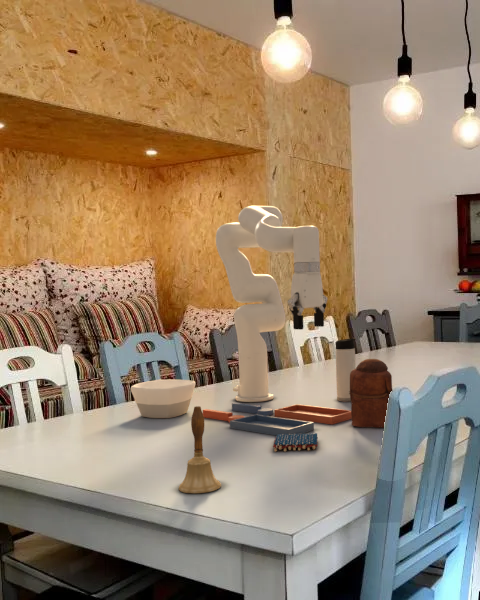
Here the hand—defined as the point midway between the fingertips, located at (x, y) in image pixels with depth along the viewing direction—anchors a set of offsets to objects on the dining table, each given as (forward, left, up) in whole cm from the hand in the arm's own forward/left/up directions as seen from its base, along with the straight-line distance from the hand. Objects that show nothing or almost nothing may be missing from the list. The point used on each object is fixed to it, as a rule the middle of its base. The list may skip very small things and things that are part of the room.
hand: (309, 327), depth 210 cm
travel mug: (-5, +25, -26) cm, 36 cm away
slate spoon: (-18, -6, -25) cm, 32 cm away
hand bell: (+27, -67, -26) cm, 77 cm away
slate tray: (+3, -20, -25) cm, 33 cm away
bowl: (-39, -22, -26) cm, 52 cm away
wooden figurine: (+24, -3, -26) cm, 35 cm away
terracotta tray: (+3, -2, -25) cm, 26 cm away
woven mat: (+21, -31, -26) cm, 46 cm away
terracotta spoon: (-18, -18, -25) cm, 36 cm away
